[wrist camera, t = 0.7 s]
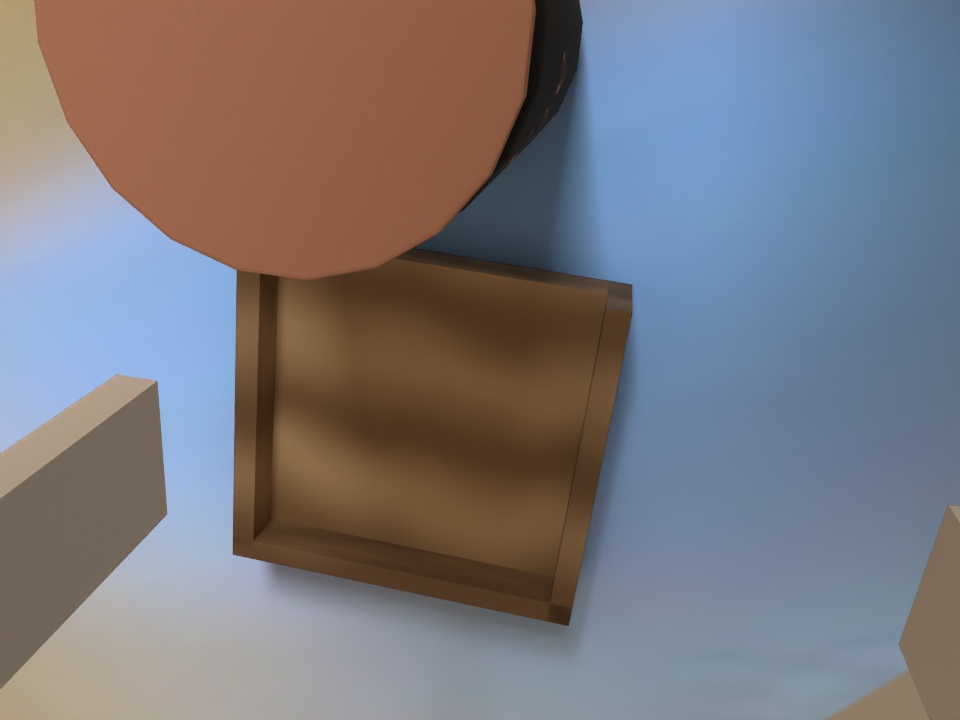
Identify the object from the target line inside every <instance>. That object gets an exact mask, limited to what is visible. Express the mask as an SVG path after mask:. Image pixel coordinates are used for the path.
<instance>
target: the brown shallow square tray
mask: <svg viewBox="0 0 960 720" xmlns="http://www.w3.org/2000/svg"><path fill="white" fill-rule="evenodd" d="M631 316H632V285H630V284H624V283H618V282H612V281H606V280H600V279H594V278H588V277H582V276H576V275H570V274H564V273H558V272H552V271H546V270H540V269H534V268H528V267H522V266H516V265H510V264H504V263H498V262H491V261H485V260H479V259H473V258H467V257H461V256H455V255H449V254H443V253H437V252H431V251H425V250H419V249H413V248H412V249H410V250H409V251H407V252H405V253H403V254H402V255H400V256H398V257H396V258H394V259H393V260H391V261H389V262H387V263H386V264H384V265H382V266H380V267H379V268H374V269H369V270H363V271H358V272H352V273H347V274H341V275H336V276H330V277H325V278H319V279H314V280H302V279H295V278H288V277H281V276H274V275H267V274H260V273H253V272H246V271H239V270H237V291H236V362H235V433H234V504H233V555H237V556H242V557H247V558H251V559H256V560H261V561H266V562H270V563H275V564H280V565H284V566H289V567H294V568H298V569H303V570H308V571H313V572H317V573H322V574H327V575H331V576H336V577H341V578H346V579H350V580H355V581H360V582H364V583H369V584H374V585H378V586H383V587H388V588H393V589H397V590H402V591H407V592H411V593H416V594H421V595H425V596H430V597H435V598H440V599H444V600H449V601H454V602H458V603H463V604H468V605H472V606H477V607H482V608H487V609H491V610H496V611H501V612H505V613H510V614H515V615H520V616H524V617H529V618H534V619H538V620H543V621H548V622H552V623H557V624H562V625H567V626H569V622H570V617H571V612H572V607H573V602H574V597H575V592H576V587H577V582H578V577H579V572H580V567H581V562H582V558H583V553H584V548H585V543H586V538H587V533H588V528H589V523H590V518H591V513H592V508H593V503H594V498H595V494H596V489H597V484H598V479H599V474H600V469H601V464H602V459H603V454H604V449H605V444H606V439H607V434H608V430H609V425H610V420H611V415H612V410H613V405H614V400H615V395H616V390H617V385H618V380H619V375H620V370H621V366H622V361H623V356H624V351H625V346H626V341H627V336H628V331H629V326H630V321H631Z"/></svg>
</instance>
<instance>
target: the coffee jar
mask: <svg viewBox="0 0 960 720" xmlns="http://www.w3.org/2000/svg"><path fill="white" fill-rule="evenodd" d="M34 2H35V13H36V23H37V34H38V43H39V46H40V49H41V52H42V54H43V57H44V60H45V63H46V65H47V68H48V71H49V74H50V76H51V79H52V82H53V85H54V87H55V90H56V93H57V96H58V98H59V101H60V104H61V106H62V109H63V112H64V115H65V117H66V120H67V123H68V124H69V125H70V127H71V128H72V130H73V131H74V133H75V134H76V136H77V137H78V139H79V140H80V142H81V143H82V144H83V146H84V147H85V149H86V150H87V152H88V153H89V155H90V156H91V158H92V159H93V161H94V162H95V164H96V165H97V166H98V168H99V169H100V171H101V172H102V174H103V175H104V177H105V178H106V180H107V181H108V183H109V184H110V186H111V187H112V188H113V189H114V190H115V191H116V192H117V193H118V194H119V195H121V196H122V197H123V198H124V199H125V200H126V201H127V202H129V203H130V204H131V205H132V206H133V207H134V208H136V209H137V210H138V211H139V212H140V213H141V214H142V215H144V216H145V217H146V218H147V219H148V220H149V221H150V222H152V223H153V224H154V225H155V226H156V227H157V228H159V229H160V230H161V231H162V232H163V233H164V234H165V235H167V236H168V237H169V238H170V239H172V240H174V241H176V242H178V243H180V244H182V245H185V246H187V247H189V248H191V249H193V250H195V251H197V252H199V253H202V254H204V255H206V256H208V257H210V258H212V259H214V260H216V261H218V262H221V263H223V264H225V265H227V266H229V267H231V268H233V269H235V270H239V271H246V272H253V273H260V274H267V275H274V276H281V277H288V278H295V279H302V280H314V279H319V278H325V277H330V276H336V275H341V274H347V273H352V272H358V271H363V270H369V269H374V268H379V267H380V266H382V265H384V264H386V263H387V262H389V261H391V260H393V259H394V258H396V257H398V256H400V255H402V254H403V253H405V252H407V251H409V250H410V249H412V248H414V247H416V246H418V245H419V244H421V243H423V242H425V241H426V240H428V239H430V238H432V237H433V236H435V235H437V234H439V233H441V232H442V230H443V229H444V228H445V227H446V226H447V225H448V224H449V223H450V221H451V220H452V219H453V218H454V217H455V216H456V215H457V214H458V213H459V212H461V211H463V210H464V209H465V208H466V207H467V206H468V205H469V204H470V203H471V202H472V201H473V200H474V199H475V198H476V197H477V196H478V195H479V194H480V193H481V192H482V191H483V190H484V189H485V188H486V187H487V186H488V185H489V184H490V183H491V182H492V181H493V180H494V179H495V178H496V177H497V176H498V175H499V174H500V173H501V172H502V171H503V170H504V169H505V168H506V167H507V166H508V165H509V163H510V162H511V161H512V160H513V159H514V158H515V157H516V156H517V155H518V154H519V153H520V152H521V151H522V150H523V149H524V148H525V147H526V146H527V145H528V144H529V143H530V142H531V141H532V140H533V139H534V137H535V136H536V135H537V134H538V133H539V132H540V131H541V130H542V128H543V127H544V126H545V125H546V124H547V123H548V122H549V121H550V120H551V118H552V117H553V116H554V115H555V114H556V113H557V112H558V110H559V108H560V105H561V103H562V101H563V99H564V97H565V94H566V92H567V90H568V88H569V86H570V83H571V81H572V79H573V77H574V75H575V72H576V70H577V64H578V56H579V48H580V40H581V33H582V25H583V21H582V15H581V9H580V3H579V0H34Z"/></svg>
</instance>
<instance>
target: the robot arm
mask: <svg viewBox="0 0 960 720" xmlns="http://www.w3.org/2000/svg"><path fill="white" fill-rule="evenodd" d="M166 515H167V504H166V490H165V477H164V464H163V450H162V437H161V423H160V410H159V396H158V383H157V381H155V380H149V379H142V378H136V377H129V376H123V375H115V376H114V377H112V378H111V379H109V380H108V381H106V382H105V383H104V384H102V385H101V386H99V387H98V388H96V389H95V390H93V391H92V392H90V393H89V394H87V395H86V396H84V397H83V398H81V399H80V400H79V401H77V402H76V403H74V404H73V405H71V406H70V407H68V408H67V409H65V410H64V411H62V412H61V413H59V414H58V415H56V416H55V417H54V418H52V419H51V420H49V421H48V422H46V423H45V424H43V425H42V426H40V427H39V428H37V429H36V430H34V431H33V432H31V433H30V434H28V435H27V436H26V437H24V438H23V439H21V440H20V441H18V442H17V443H15V444H14V445H12V446H11V447H9V448H8V449H6V450H5V451H3V452H2V453H1V454H0V689H1V688H2V687H3V686H4V685H5V684H6V683H7V682H8V681H9V680H10V679H11V678H12V677H13V675H14V674H15V673H16V672H17V671H18V670H19V669H20V668H21V667H22V666H23V665H24V664H25V663H26V662H27V661H28V660H29V659H30V658H31V657H32V656H33V655H34V653H35V652H36V651H37V650H38V649H39V648H40V647H41V646H42V645H43V644H44V643H45V642H46V641H47V640H48V639H49V638H50V637H51V636H52V635H53V634H54V632H55V631H56V630H57V629H58V628H59V627H60V626H61V625H62V624H63V623H64V622H65V621H66V620H67V619H68V618H69V617H70V616H71V615H72V614H73V613H74V612H75V610H76V609H77V608H78V607H79V606H80V605H81V604H82V603H83V602H84V601H85V600H86V599H87V598H88V597H89V596H90V595H91V594H92V593H93V592H94V591H95V589H96V588H97V587H98V586H99V585H100V584H101V583H102V582H103V581H104V580H105V579H106V578H107V577H108V576H109V575H110V574H111V573H112V572H113V571H114V570H115V569H116V567H117V566H118V565H119V564H120V563H121V562H122V561H123V560H124V559H125V558H126V557H127V556H128V555H129V554H130V553H131V552H132V551H133V550H134V549H135V548H136V547H137V545H138V544H139V543H140V542H141V541H142V540H143V539H144V538H145V537H146V536H147V535H148V534H149V533H150V532H151V531H152V530H153V529H154V528H155V527H156V526H157V524H158V523H159V522H160V521H161V520H162V519H163V518H164V517H165V516H166ZM899 647H900V649H901V651H902V654H903V656H904V659H905V661H906V663H907V666H908V668H909V671H910V673H911V675H912V678H913V680H914V683H915V685H916V687H917V690H918V692H919V695H920V697H921V699H922V702H923V704H924V707H925V709H926V711H927V714H928V716H929V719H930V720H960V506H954V505H948V506H947V509H946V512H945V515H944V518H943V520H942V523H941V526H940V529H939V532H938V535H937V537H936V540H935V543H934V546H933V549H932V552H931V554H930V557H929V560H928V563H927V566H926V569H925V571H924V574H923V577H922V580H921V583H920V586H919V588H918V591H917V594H916V597H915V600H914V603H913V605H912V608H911V611H910V614H909V617H908V620H907V622H906V625H905V628H904V631H903V634H902V637H901V639H900V642H899Z"/></svg>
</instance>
